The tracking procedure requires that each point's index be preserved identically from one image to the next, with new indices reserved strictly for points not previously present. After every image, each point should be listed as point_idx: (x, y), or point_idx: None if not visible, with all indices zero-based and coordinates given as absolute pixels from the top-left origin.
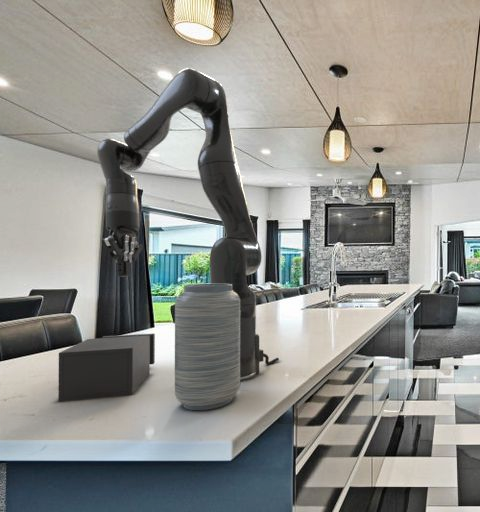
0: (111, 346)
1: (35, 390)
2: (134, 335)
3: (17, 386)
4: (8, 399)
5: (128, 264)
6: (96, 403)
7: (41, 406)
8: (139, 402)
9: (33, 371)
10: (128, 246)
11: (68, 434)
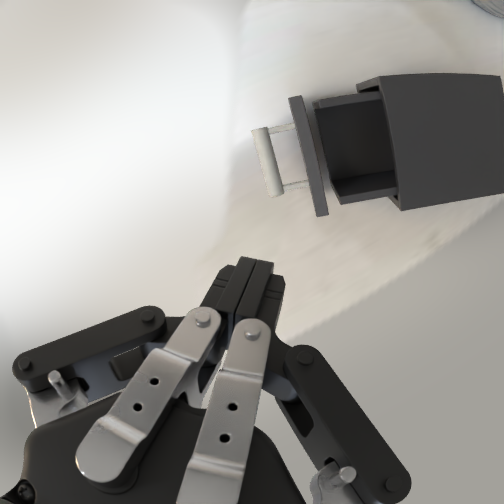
0: (487, 119)
1: (411, 236)
2: (313, 142)
3: (382, 275)
4: (441, 244)
5: (233, 300)
6: None
7: None
8: (483, 61)
9: (294, 307)
10: (170, 418)
11: None
